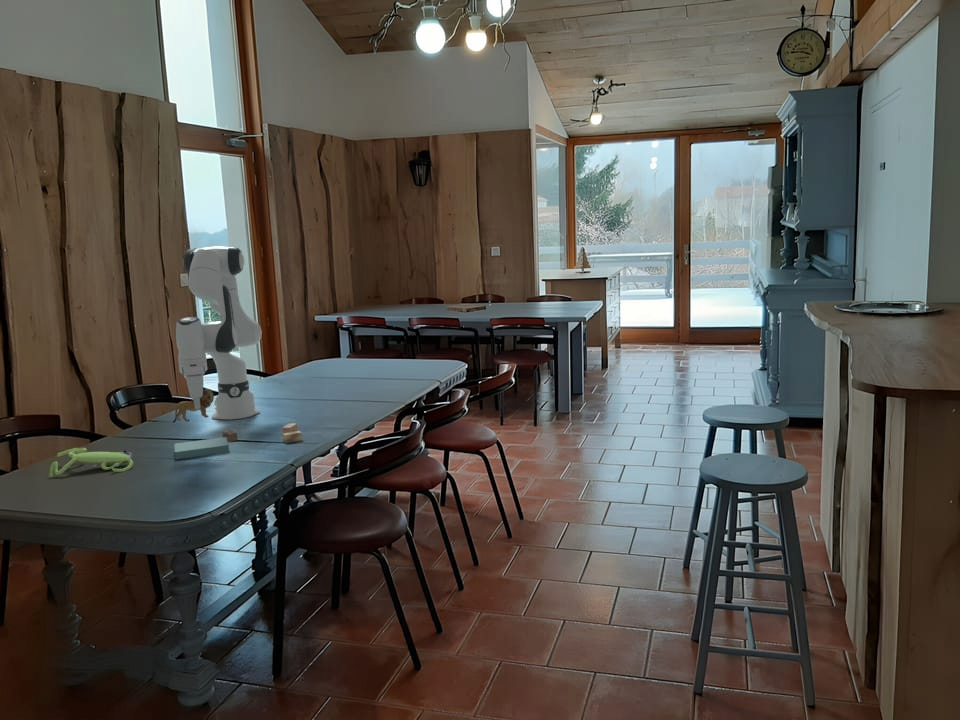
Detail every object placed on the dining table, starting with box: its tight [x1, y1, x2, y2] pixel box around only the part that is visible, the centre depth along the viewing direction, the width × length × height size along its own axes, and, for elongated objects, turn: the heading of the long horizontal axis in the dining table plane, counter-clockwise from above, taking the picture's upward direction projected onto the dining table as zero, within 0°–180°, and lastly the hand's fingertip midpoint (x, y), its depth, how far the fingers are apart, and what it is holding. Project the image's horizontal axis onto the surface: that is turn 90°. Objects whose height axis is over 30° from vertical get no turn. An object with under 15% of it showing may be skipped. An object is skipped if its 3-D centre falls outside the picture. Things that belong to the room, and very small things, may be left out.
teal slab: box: [174, 436, 230, 460], centre depth 266 cm, size 12×17×2 cm
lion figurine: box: [172, 388, 215, 424], centre depth 263 cm, size 15×5×9 cm, turn 119°
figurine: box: [49, 447, 134, 478], centre depth 254 cm, size 18×27×6 cm
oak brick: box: [282, 430, 303, 444], centre depth 275 cm, size 6×3×3 cm, turn 121°
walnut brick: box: [221, 429, 239, 443], centre depth 281 cm, size 6×3×3 cm, turn 39°
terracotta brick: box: [281, 423, 299, 434], centre depth 286 cm, size 6×3×3 cm, turn 168°
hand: (197, 406), depth 264 cm, fingers closed on lion figurine, 4 cm apart
